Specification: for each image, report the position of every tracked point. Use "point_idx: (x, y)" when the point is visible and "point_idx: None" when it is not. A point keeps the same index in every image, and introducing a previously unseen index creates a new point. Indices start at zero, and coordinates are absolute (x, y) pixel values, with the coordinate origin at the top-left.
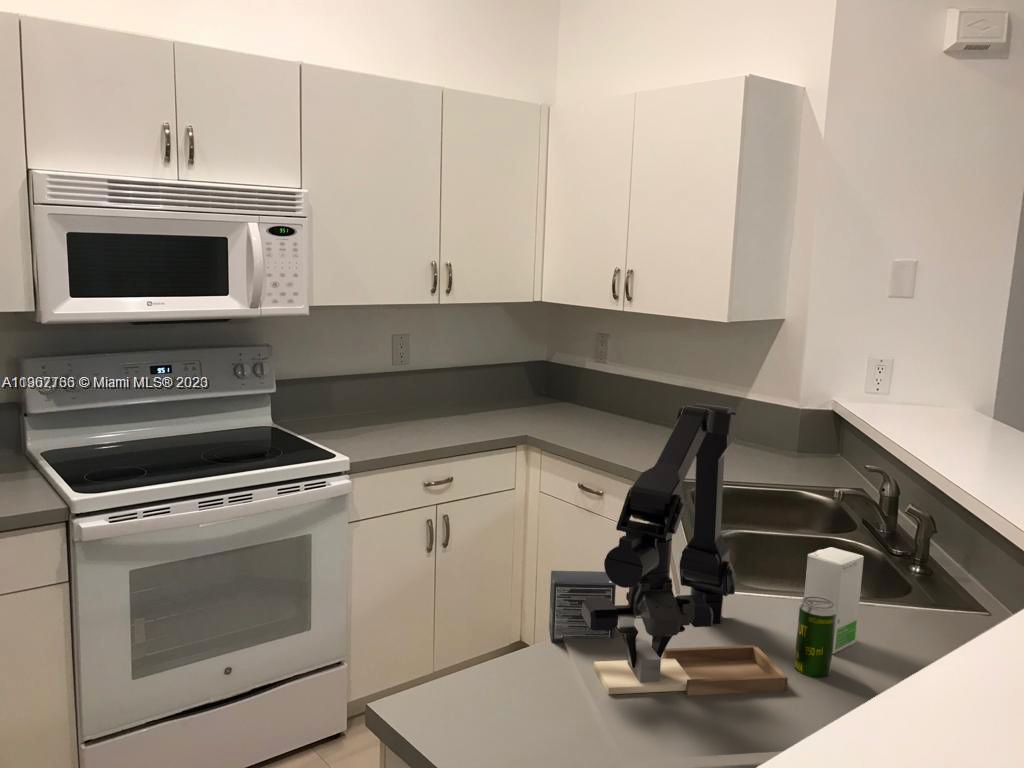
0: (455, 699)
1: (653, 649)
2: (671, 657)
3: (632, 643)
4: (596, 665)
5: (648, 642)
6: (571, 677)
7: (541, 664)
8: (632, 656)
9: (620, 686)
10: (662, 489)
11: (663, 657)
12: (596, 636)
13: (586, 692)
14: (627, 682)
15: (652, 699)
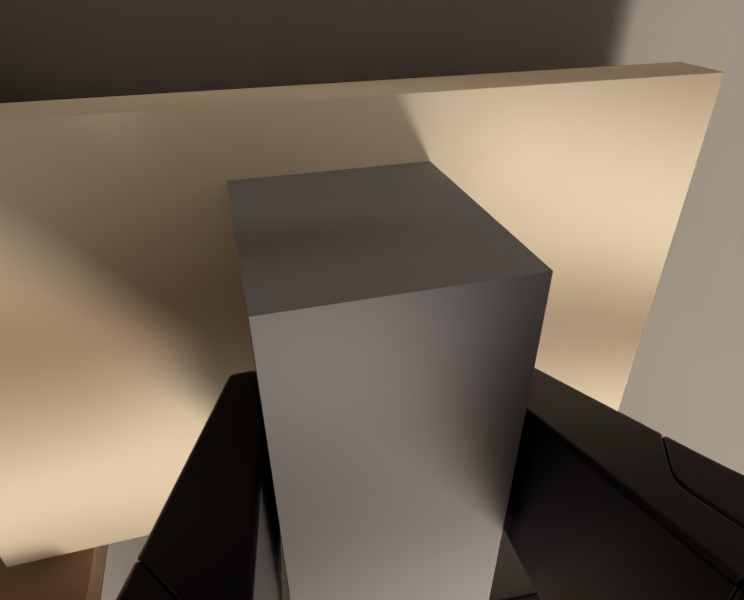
0: None
1: (284, 539)
2: (35, 575)
3: (712, 508)
4: (623, 390)
5: None
6: (680, 336)
7: (735, 426)
8: (550, 392)
9: (626, 91)
10: None
11: (103, 569)
12: None
13: (697, 181)
14: (534, 166)
15: (290, 68)
